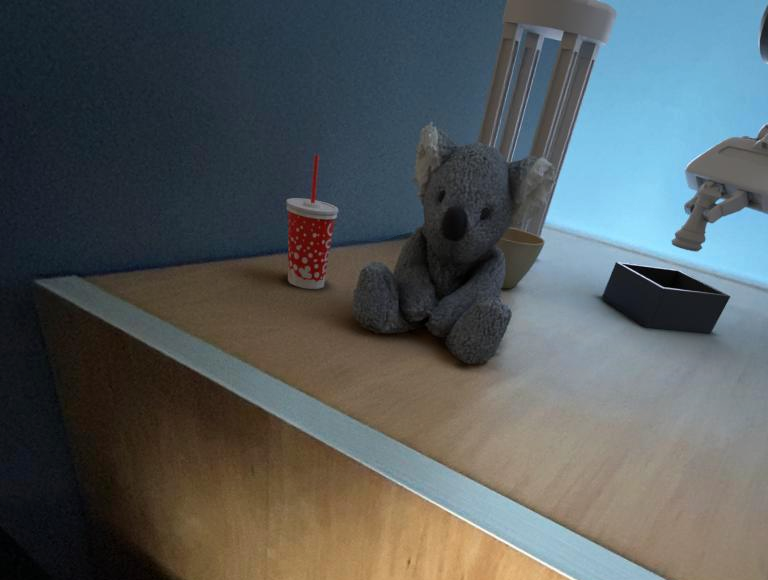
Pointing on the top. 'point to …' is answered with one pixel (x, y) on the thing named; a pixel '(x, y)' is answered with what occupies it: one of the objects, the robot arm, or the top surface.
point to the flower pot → (518, 254)
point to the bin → (664, 298)
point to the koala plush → (455, 247)
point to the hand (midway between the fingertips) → (696, 214)
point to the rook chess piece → (697, 220)
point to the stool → (574, 29)
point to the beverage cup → (309, 238)
